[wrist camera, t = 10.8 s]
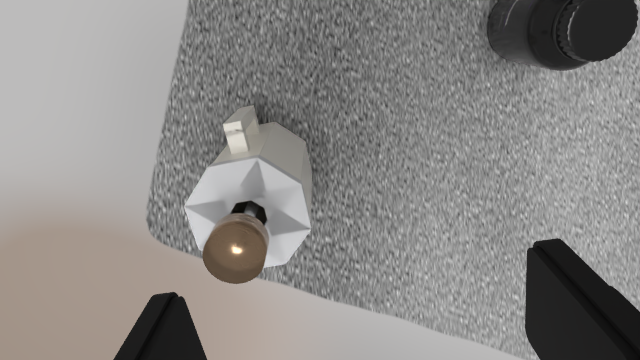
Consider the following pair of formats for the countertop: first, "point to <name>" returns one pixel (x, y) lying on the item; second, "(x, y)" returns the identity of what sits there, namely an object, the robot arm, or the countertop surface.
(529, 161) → the countertop surface
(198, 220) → the press pot
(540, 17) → the supplement bottle
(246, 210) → the plunger
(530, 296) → the robot arm
